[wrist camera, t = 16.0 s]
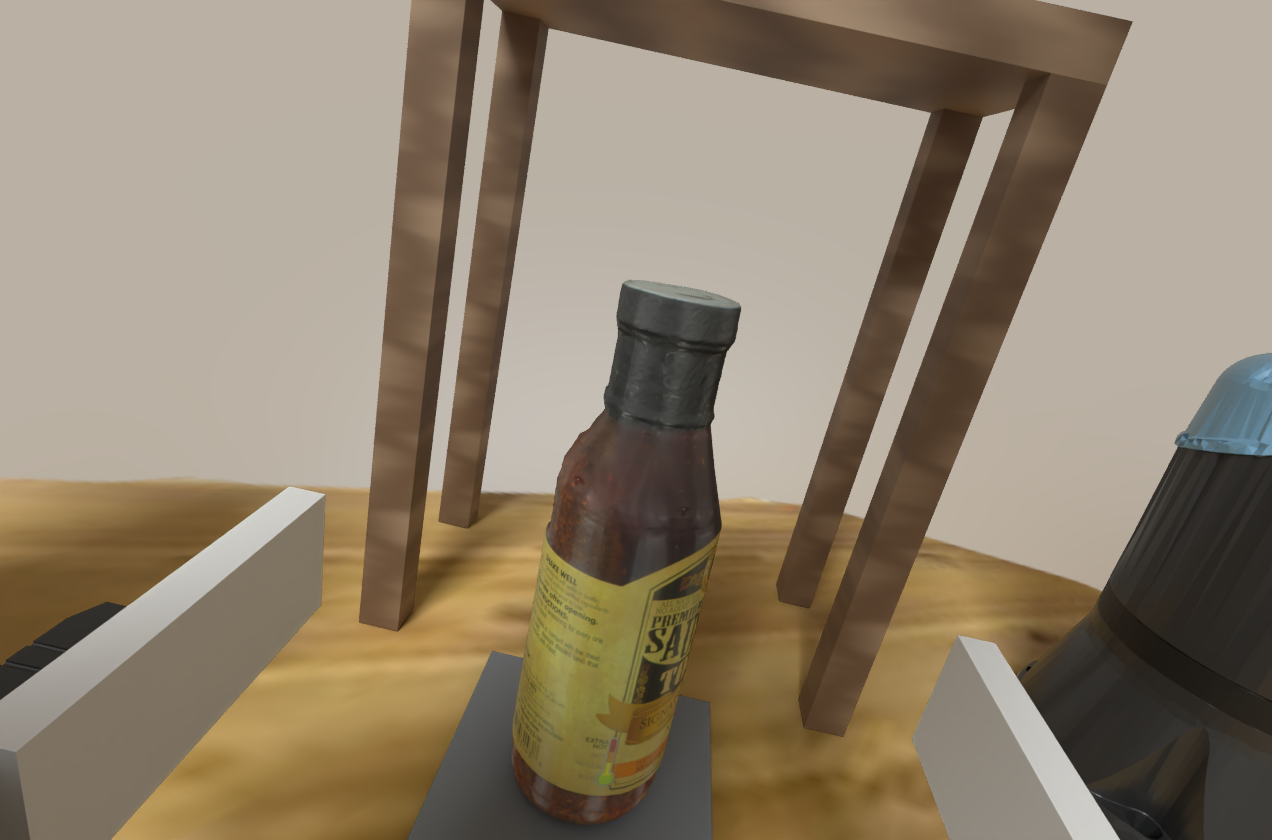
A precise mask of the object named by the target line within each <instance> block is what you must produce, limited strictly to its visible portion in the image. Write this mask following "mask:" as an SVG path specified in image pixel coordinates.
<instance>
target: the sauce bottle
mask: <svg viewBox="0 0 1272 840" xmlns="http://www.w3.org/2000/svg"><path fill="white" fill-rule="evenodd" d="M740 312H741V306H740V304H739V303H737V302H735V301H733V300H731V299H728V298H726V297H723V296H720V295H717V294H714V293H710V292H707V291H703V290H698V289H693V288H688V287H682V286H675V285H670V284H663V283H657V282H650V281H640V280H628V281H625V282H624V283H623V284H622V288H621V292H620V298H619V304H618V310H617V326H618V339H617V343H616V348H615V354H614V360H613V365H612V370H611V375H610V381H609V385H608V386H607V387H606V390H605V393H604V404H605V409H604V411H603V412H602V413H601V414H600V415H599V416H598V417H597V418H596V420H595V421H594V423H593V424H592V425H591V427H590V428H589V429H588V430H586V431H584V432H582V433H580V434H579V436H578V438H577V440H576V441H575V442H574V444H573V446H572V447H571V448H570V449H569V451H568V452H567V454H566V455H565V457H564V461H563V463H562V468H561V471H560V473H559V476H558V478H557V486H556V490H555V497H554V504H553V512H552V516H551V522H549V523H548V526H547V528H546V532H545V537H544V543H543V549H542V555H541V560H540V566H539V572H538V578H537V584H536V589H535V595H534V601H533V607H532V613H531V619H530V624H529V630H528V635H527V641H526V647H525V653H524V658H523V663H522V669H521V675H520V681H519V687H518V693H517V699H516V706H515V712H514V718H513V741H512V742H513V746H512V758H511V762H512V765H513V770H514V774H515V777H516V781H517V783H518V786H519V787H520V789H521V791H522V792H523V793H524V794H525V795H526V796H527V798H528V800H529V801H530V802H531V804H533V805H534V806H536V807H538V808H540V809H541V810H542V811H544V812H545V813H546V814H548V815H552V816H554V817H557V818H559V819H561V820H563V821H569V822H572V823H575V824H580V825H594V824H597V823H598V824H602V823H604V822H609V821H612V820H615V819H617V818H619V817H621V816H623V815H624V814H626V813H627V812H629V811H630V810H631V809H632V808H634V807H635V806H636V805H637V804H638V803H639V802H640V801H641V800H642V799H643V798H644V797H645V796H646V794H647V790H648V788H649V787H650V785H651V784H652V782H653V780H654V778H655V774H656V770H657V769H658V767H659V765H660V763H661V761H662V758H663V755H664V751H665V747H666V743H667V739H668V735H669V731H670V727H671V723H672V719H673V716H674V712H675V708H676V703H677V700H678V696H679V692H680V688H681V684H682V680H683V676H684V673H685V669H686V666H687V661H688V657H689V653H690V649H691V645H692V641H693V638H694V635H695V632H696V626H697V622H698V617H699V614H700V612H701V606H702V603H703V599H704V595H705V591H706V587H707V583H708V579H709V575H710V571H711V568H712V564H713V560H714V556H715V552H716V547H717V543H718V539H719V535H720V531H721V526H722V523H721V515H720V508H719V500H718V492H717V484H716V477H715V469H714V459H713V448H712V436H711V423H712V421H713V419H714V404H715V399H716V394H717V391H718V385H719V381H720V378H721V374H722V369H723V365H724V360H725V357H726V353H727V351H728V350H729V348H730V347H731V345H732V344H733V343H734V342H735V339H736V333H737V329H738V321H739V317H740Z"/></svg>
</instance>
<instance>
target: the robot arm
mask: <svg viewBox="0 0 1272 840" xmlns="http://www.w3.org/2000/svg"><path fill="white" fill-rule="evenodd" d="M1175 444H1176V445H1177V446H1178V448H1177V450H1176V452H1175V454H1174V456H1173V458H1172V460H1171V461H1170V463H1169V465H1168V467H1167V469H1166V471H1165V473H1164V475H1163V477H1162V479H1161V481H1160V483H1159V485H1158V487H1157V489H1156V490H1155V492H1154V494H1153V496H1152V498H1151V500H1150V502H1149V504H1148V506H1147V508H1146V510H1145V512H1144V514H1143V516H1142V518H1141V519H1140V521H1139V524H1138V525H1137V527H1136V529H1135V531H1134V533H1133V535H1132V537H1131V539H1130V540H1129V542H1128V544H1127V546H1126V548H1125V550H1124V551H1123V554H1122V555H1121V557H1120V559H1119V561H1118V563H1117V564H1116V566H1115V568H1114V570H1113V572H1112V574H1111V576H1110V578H1109V580H1108V582H1107V584H1106V586H1105V587H1104V589H1103V591H1102V593H1101V595H1100V597H1099V599H1098V601H1097V603H1096V604H1095V606H1094V608H1093V609H1092V611H1091V612H1090V613H1089V614H1088V615H1087V616H1086V617H1085V618H1084V619H1083V620H1082V621H1080V622H1079V623H1078V624H1077V625H1076V626H1075V627H1074V628H1073V629H1071V630H1070V631H1069V632H1068V633H1067V634H1066V635H1065V636H1064V637H1062V638H1061V639H1060V640H1059V641H1058V642H1057V643H1056V644H1055V645H1054V646H1053V647H1052V648H1051V649H1049V650H1048V651H1047V652H1046V653H1045V654H1044V655H1043V656H1042V657H1041V658H1040V659H1039V660H1037V661H1035V662H1032V663H1030V664H1029V665H1028V666H1026V667H1025V668H1023V669H1022V670H1021V671H1020V672H1018V674H1017V675H1015V674H1014V672H1013V670H1012V669H1011V667H1010V666H1009V664H1008V663H1007V661H1006V659H1005V658H1004V656H1003V655H1002V653H1001V651H1000V650H999V648H998V647H997V645H996V644H995V643H992V642H987V641H983V640H978V639H974V638H969V637H965V636H960V635H957V638H956V640H955V642H954V644H953V647H952V649H951V651H950V653H949V656H948V658H947V660H946V662H945V665H944V667H943V669H942V672H941V674H940V676H939V678H938V681H937V683H936V685H935V687H934V690H933V692H932V694H931V696H930V699H929V701H928V703H927V705H926V708H925V710H924V712H923V714H922V717H921V719H920V721H919V724H918V726H917V728H916V730H915V733H914V735H913V737H912V741H913V743H914V746H915V749H916V751H917V754H918V756H919V759H920V762H921V764H922V767H923V770H924V772H925V775H926V778H927V780H928V783H929V786H930V788H931V791H932V794H933V796H934V799H935V802H936V804H937V807H938V810H939V812H940V815H941V818H942V820H943V823H944V826H945V828H946V831H947V834H948V836H949V839H950V840H1272V353H1267V354H1260V355H1255V356H1251V357H1248V358H1245V359H1243V360H1240V361H1238V362H1236V363H1235V364H1233V365H1231V366H1230V367H1229V368H1227V369H1226V370H1225V371H1224V372H1223V373H1222V374H1221V375H1220V377H1219V378H1218V379H1217V381H1216V383H1215V384H1214V385H1213V387H1212V389H1211V390H1210V392H1209V394H1208V395H1207V397H1206V398H1205V400H1204V402H1203V403H1202V405H1201V407H1200V408H1199V410H1198V411H1197V413H1196V415H1195V416H1194V418H1193V420H1192V421H1191V423H1190V424H1189V426H1188V428H1187V429H1186V431H1183V432H1181V433H1180V434H1179V435H1178V436H1177V438H1176V441H1175ZM325 495H326V494H322V493H317V492H313V491H308V490H304V489H299V488H295V487H290V486H289V487H288V488H286V489H285V490H284V491H282V492H281V493H280V494H278V495H277V496H276V497H274V498H273V499H272V500H270V501H269V502H267V503H266V504H265V505H263V506H262V507H261V508H259V509H258V510H257V511H255V512H254V513H253V514H251V515H250V516H249V517H247V518H246V519H244V520H243V521H242V522H240V523H239V524H238V525H236V526H235V527H234V528H232V529H231V530H230V531H228V532H227V533H226V534H224V535H223V536H222V537H220V538H219V539H217V540H216V541H215V542H213V543H212V544H211V545H209V546H208V547H207V548H205V549H204V550H203V551H201V552H200V553H199V554H197V555H196V556H194V557H193V558H192V559H190V560H189V561H188V562H186V563H185V564H184V565H182V566H181V567H180V568H178V569H177V570H176V571H174V572H173V573H171V574H170V575H169V576H167V577H166V578H165V579H163V580H162V581H161V582H159V583H158V584H157V585H155V586H154V587H153V588H151V589H150V590H149V591H147V592H146V593H144V594H143V595H142V596H140V597H139V598H138V599H136V600H135V601H134V602H132V603H131V604H130V605H128V606H123V605H118V604H114V603H109V602H105V603H103V604H101V605H98V606H96V607H93V608H91V609H88V610H86V611H84V612H81V613H79V614H76V615H74V616H71V617H69V618H67V619H65V620H64V621H62V622H61V623H59V624H58V625H56V626H55V627H54V628H52V629H51V630H49V631H48V632H46V633H45V634H43V635H42V636H40V637H39V638H38V639H36V640H35V641H34V643H33V645H32V646H26V647H24V648H23V649H22V650H20V651H19V652H17V653H16V654H14V655H13V656H11V657H10V658H8V659H7V660H6V663H5V664H4V665H3V666H1V665H0V840H111V839H112V838H113V837H114V835H115V834H116V833H117V832H118V831H119V830H120V829H121V828H122V827H123V825H124V824H125V823H126V822H127V821H128V820H129V819H130V818H131V817H132V815H133V814H134V813H135V812H136V811H137V810H138V809H139V808H140V807H141V805H142V804H143V803H144V802H145V801H146V800H147V799H148V798H149V796H150V795H151V794H152V793H153V792H154V791H155V790H156V789H157V788H158V786H159V785H160V784H161V783H162V782H163V781H164V780H165V779H166V778H167V776H168V775H169V774H170V773H171V772H172V771H173V770H174V769H175V768H176V766H177V765H178V764H179V763H180V762H181V761H182V760H183V759H184V757H185V756H186V755H187V754H188V753H189V752H190V751H191V750H192V749H193V747H194V746H195V745H196V744H197V743H198V742H199V741H200V740H201V739H202V737H203V736H204V735H205V734H206V733H207V732H208V731H209V730H210V729H211V727H212V726H213V725H214V724H215V723H216V722H217V721H218V720H219V719H220V717H221V716H222V715H223V714H224V713H225V712H226V711H227V710H228V708H229V707H230V706H231V705H232V704H233V703H234V702H235V701H236V700H237V698H238V697H239V696H240V695H241V694H242V693H243V692H244V691H245V690H246V688H247V687H248V686H249V685H250V684H251V683H252V682H253V681H254V680H255V678H256V677H257V676H258V675H259V674H260V673H261V672H262V671H263V669H264V668H265V667H266V666H267V665H268V664H269V663H270V662H271V661H272V659H273V658H274V657H275V656H276V655H277V654H278V653H279V652H280V651H281V649H282V648H283V647H284V646H285V645H286V644H287V643H288V642H289V641H290V639H291V638H292V637H293V636H294V635H295V634H296V633H297V632H298V631H299V629H300V628H301V627H302V626H303V625H304V624H305V623H306V622H307V620H308V619H309V618H310V617H311V616H312V615H313V614H314V613H315V612H316V610H317V609H318V608H319V607H320V606H321V597H322V571H323V546H324V520H325Z"/></svg>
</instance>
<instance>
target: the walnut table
mask: <svg viewBox="0 0 1272 840" xmlns="http://www.w3.org/2000/svg"><path fill="white" fill-rule="evenodd" d="M491 1H492V2H493V3H494V4H495V5H497V6H498V7H499V8H500V9H501V10H502V18H501V26H500V33H499V41H498V50H497V57H496V65H495V74H494V81H493V89H492V97H491V106H490V114H489V121H488V129H487V137H486V146H485V153H484V162H483V169H482V177H481V186H480V193H479V201H478V202H479V203H478V210H477V217H476V226H475V233H474V241H473V249H472V257H471V265H470V274H469V281H468V289H467V297H466V305H465V313H464V321H463V329H462V337H461V345H460V353H459V361H458V369H457V377H456V386H455V393H454V401H453V409H452V418H451V425H450V434H449V441H448V449H447V458H446V466H445V473H444V481H443V489H442V497H441V505H440V513H439V522H443V523H447V524H452V525H456V526H460V527H464V528H468V527H469V526H470V525H471V523H472V522H473V520H474V519H475V517H476V516H477V514H478V507H479V500H480V493H481V486H482V479H483V473H484V466H485V459H486V452H487V445H488V438H489V432H490V425H491V418H492V411H493V404H494V398H495V391H496V384H497V377H498V370H499V363H500V356H501V350H502V342H503V336H504V329H505V322H506V315H507V308H508V301H509V295H510V288H511V281H512V275H513V267H514V261H515V254H516V247H517V240H518V234H519V227H520V220H521V213H522V206H523V199H524V192H525V186H526V179H527V172H528V165H529V159H530V151H531V145H532V138H533V131H534V124H535V118H536V111H537V104H538V97H539V90H540V83H541V77H542V69H543V63H544V56H545V49H546V42H547V36H548V29H549V28H550V29H555V30H560V31H564V32H569V33H573V34H577V35H582V36H587V37H591V38H596V39H600V40H605V41H609V42H614V43H618V44H623V45H627V46H632V47H636V48H641V49H645V50H650V51H654V52H659V53H664V54H668V55H672V56H677V57H682V58H686V59H690V60H695V61H700V62H704V63H709V64H713V65H718V66H722V67H727V68H732V69H736V70H740V71H745V72H749V73H754V74H759V75H763V76H767V77H772V78H776V79H781V80H785V81H790V82H794V83H799V84H804V85H808V86H813V87H817V88H822V89H826V90H831V91H836V92H840V93H844V94H849V95H853V96H858V97H862V98H867V99H871V100H876V101H881V102H885V103H889V104H894V105H898V106H903V107H907V108H912V109H916V110H921V111H926V112H930V113H931V115H930V118H929V121H928V124H927V127H926V130H925V133H924V136H923V140H922V143H921V146H920V149H919V152H918V155H917V158H916V161H915V164H914V167H913V170H912V173H911V176H910V179H909V182H908V185H907V188H906V191H905V194H904V197H903V200H902V203H901V206H900V210H899V212H898V216H897V218H896V221H895V225H894V228H893V231H892V234H891V237H890V240H889V243H888V246H887V249H886V252H885V255H884V258H883V261H882V264H881V267H880V270H879V273H878V276H877V279H876V282H875V285H874V289H873V292H872V294H871V298H870V301H869V304H868V307H867V310H866V313H865V316H864V319H863V322H862V325H861V328H860V331H859V334H858V337H857V340H856V343H855V346H854V349H853V352H852V355H851V358H850V361H849V364H848V367H847V371H846V374H845V377H844V380H843V383H842V386H841V389H840V392H839V395H838V398H837V401H836V404H835V407H834V410H833V413H832V416H831V420H830V422H829V426H828V428H827V431H826V434H825V437H824V441H823V444H822V447H821V450H820V453H819V456H818V459H817V462H816V465H815V468H814V471H813V474H812V477H811V480H810V483H809V487H808V489H807V492H806V495H805V498H804V501H803V504H802V507H801V510H800V514H799V517H798V520H797V523H796V526H795V529H794V532H793V535H792V538H791V541H790V544H789V547H788V550H787V553H786V556H785V559H784V562H783V565H782V568H781V571H780V574H779V577H778V580H777V583H776V586H777V591H778V596H779V601H781V602H786V603H790V604H794V605H798V606H803V607H807V608H810V605H811V602H812V599H813V597H814V594H815V591H816V588H817V585H818V582H819V580H820V577H821V574H822V571H823V568H824V565H825V563H826V560H827V557H828V554H829V551H830V548H831V546H832V543H833V540H834V537H835V534H836V531H837V529H838V526H839V523H840V520H841V517H842V515H843V512H844V509H845V506H846V503H847V500H848V498H849V495H850V492H851V489H852V486H853V483H854V481H855V478H856V475H857V472H858V469H859V466H860V464H861V461H862V458H863V455H864V452H865V449H866V447H867V443H868V441H869V438H870V435H871V432H872V429H873V427H874V424H875V421H876V418H877V415H878V413H879V410H880V407H881V404H882V401H883V398H884V396H885V393H886V390H887V387H888V384H889V381H890V378H891V376H892V373H893V370H894V367H895V364H896V362H897V359H898V356H899V353H900V350H901V347H902V344H903V342H904V339H905V336H906V333H907V330H908V327H909V325H910V322H911V319H912V316H913V314H914V311H915V308H916V305H917V302H918V299H919V297H920V294H921V291H922V288H923V285H924V282H925V279H926V277H927V274H928V271H929V268H930V265H931V263H932V260H933V257H934V254H935V251H936V248H937V246H938V243H939V240H940V237H941V234H942V231H943V229H944V226H945V223H946V220H947V217H948V214H949V212H950V209H951V206H952V203H953V200H954V197H955V195H956V192H957V189H958V186H959V183H960V180H961V178H962V175H963V172H964V169H965V166H966V163H967V161H968V158H969V155H970V152H971V149H972V147H973V144H974V141H975V138H976V135H977V132H978V129H979V127H980V124H981V121H982V118H983V117H985V116H989V115H993V114H997V113H1001V112H1004V111H1008V110H1012V109H1015V110H1014V113H1013V116H1012V119H1011V121H1010V124H1009V127H1008V129H1007V132H1006V135H1005V138H1004V140H1003V143H1002V146H1001V148H1000V151H999V154H998V157H997V160H996V162H995V165H994V168H993V170H992V173H991V176H990V178H989V181H988V184H987V187H986V189H985V192H984V195H983V198H982V200H981V203H980V206H979V209H978V211H977V214H976V217H975V219H974V222H973V225H972V228H971V230H970V233H969V236H968V239H967V241H966V244H965V247H964V249H963V252H962V255H961V257H960V260H959V263H958V266H957V268H956V271H955V274H954V277H953V279H952V282H951V285H950V288H949V290H948V293H947V296H946V298H945V301H944V304H943V307H942V309H941V312H940V315H939V317H938V320H937V323H936V326H935V328H934V331H933V334H932V337H931V339H930V342H929V345H928V347H927V350H926V353H925V356H924V358H923V361H922V364H921V367H920V369H919V372H918V375H917V377H916V380H915V383H914V386H913V389H912V391H911V394H910V397H909V399H908V402H907V405H906V407H905V410H904V413H903V416H902V418H901V421H900V424H899V427H898V429H897V432H896V435H895V437H894V440H893V443H892V446H891V448H890V451H889V454H888V457H887V459H886V462H885V465H884V467H883V470H882V473H881V476H880V478H879V481H878V484H877V487H876V489H875V492H874V495H873V497H872V500H871V503H870V506H869V509H868V511H867V514H866V517H865V519H864V522H863V525H862V527H861V530H860V533H859V536H858V538H857V541H856V544H855V547H854V549H853V552H852V555H851V557H850V560H849V563H848V566H847V568H846V571H845V574H844V577H843V579H842V582H841V585H840V587H839V590H838V593H837V596H836V598H835V601H834V604H833V606H832V609H831V612H830V615H829V617H828V620H827V623H826V626H825V628H824V631H823V634H822V636H821V639H820V642H819V645H818V647H817V650H816V653H815V656H814V658H813V661H812V664H811V666H810V669H809V672H808V675H807V677H806V680H805V683H804V686H803V688H802V691H801V694H800V696H799V704H800V709H801V714H802V719H803V725H804V728H808V729H812V730H817V731H821V732H825V733H829V734H834V735H838V736H842V737H843V736H844V734H845V731H846V729H847V726H848V724H849V721H850V719H851V716H852V714H853V711H854V709H855V706H856V704H857V702H858V699H859V697H860V694H861V692H862V689H863V687H864V684H865V682H866V679H867V677H868V674H869V672H870V669H871V667H872V664H873V662H874V660H875V657H876V655H877V652H878V650H879V647H880V645H881V642H882V640H883V637H884V635H885V632H886V630H887V627H888V625H889V622H890V620H891V618H892V615H893V613H894V610H895V608H896V605H897V603H898V600H899V598H900V595H901V593H902V590H903V588H904V585H905V583H906V580H907V578H908V576H909V573H910V571H911V568H912V566H913V563H914V561H915V558H916V556H917V553H918V551H919V548H920V546H921V543H922V541H923V538H924V536H925V533H926V531H927V529H928V526H929V524H930V521H931V519H932V516H933V514H934V511H935V509H936V506H937V503H938V501H939V499H940V496H941V494H942V491H943V489H944V487H945V484H946V481H947V479H948V477H949V474H950V472H951V469H952V467H953V464H954V462H955V459H956V457H957V454H958V452H959V449H960V447H961V445H962V442H963V439H964V437H965V435H966V432H967V430H968V427H969V425H970V422H971V420H972V417H973V415H974V412H975V410H976V407H977V405H978V402H979V400H980V398H981V395H982V393H983V390H984V388H985V385H986V383H987V380H988V378H989V375H990V373H991V370H992V368H993V365H994V363H995V360H996V358H997V356H998V353H999V350H1000V348H1001V346H1002V343H1003V341H1004V338H1005V336H1006V333H1007V331H1008V328H1009V326H1010V323H1011V321H1012V318H1013V316H1014V314H1015V311H1016V309H1017V306H1018V304H1019V301H1020V299H1021V296H1022V294H1023V291H1024V289H1025V286H1026V284H1027V281H1028V279H1029V276H1030V274H1031V272H1032V269H1033V266H1034V264H1035V262H1036V259H1037V257H1038V254H1039V252H1040V249H1041V247H1042V244H1043V242H1044V239H1045V237H1046V234H1047V232H1048V230H1049V227H1050V225H1051V222H1052V219H1053V217H1054V215H1055V212H1056V210H1057V207H1058V205H1059V202H1060V200H1061V197H1062V195H1063V192H1064V190H1065V187H1066V185H1067V183H1068V180H1069V178H1070V175H1071V172H1072V170H1073V168H1074V165H1075V163H1076V160H1077V158H1078V155H1079V153H1080V150H1081V148H1082V145H1083V143H1084V141H1085V138H1086V135H1087V133H1088V131H1089V128H1090V126H1091V123H1092V121H1093V118H1094V116H1095V113H1096V111H1097V108H1098V106H1099V103H1100V101H1101V99H1102V96H1103V94H1104V91H1105V89H1106V86H1107V84H1108V81H1109V79H1110V76H1111V74H1112V71H1113V69H1114V66H1115V64H1116V61H1117V59H1118V57H1119V54H1120V51H1121V49H1122V47H1123V44H1124V42H1125V39H1126V37H1127V34H1128V32H1129V29H1130V27H1131V24H1132V21H1128V20H1124V19H1119V18H1114V17H1110V16H1105V15H1100V14H1096V13H1091V12H1087V11H1082V10H1078V9H1073V8H1069V7H1064V6H1059V5H1055V4H1050V3H1045V2H1041V1H1036V0H491ZM483 3H484V0H412V2H411V13H410V25H409V37H408V48H407V60H406V61H407V62H406V73H405V84H404V96H403V108H402V120H401V132H400V143H399V155H398V167H397V179H396V190H395V202H394V215H393V226H392V238H391V249H390V261H389V273H388V286H387V297H386V309H385V320H384V333H383V344H382V356H381V368H380V381H379V392H378V404H377V415H376V427H375V439H374V451H373V462H372V474H371V486H370V498H369V510H368V522H367V533H366V545H365V557H364V569H363V581H362V593H361V604H360V616H359V622H360V623H364V624H368V625H373V626H377V627H381V628H385V629H389V630H394V631H398V630H399V628H400V627H401V625H402V624H403V622H404V621H405V619H406V618H407V616H408V615H409V614H410V612H411V611H412V609H413V605H414V597H415V588H416V580H417V571H418V562H419V554H420V545H421V537H422V528H423V519H424V511H425V502H426V494H427V484H428V476H429V467H430V458H431V451H432V442H433V433H434V425H435V416H436V407H437V399H438V390H439V382H440V373H441V364H442V356H443V347H444V339H445V330H446V321H447V313H448V304H449V296H450V287H451V279H452V269H453V261H454V252H455V244H456V236H457V227H458V218H459V210H460V201H461V193H462V184H463V175H464V166H465V158H466V149H467V140H468V131H469V123H470V115H471V107H472V96H473V89H474V81H475V72H476V63H477V55H478V46H479V37H480V29H481V21H482V12H483Z"/></svg>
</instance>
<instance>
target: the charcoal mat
mask: <svg viewBox="0 0 1272 840" xmlns="http://www.w3.org/2000/svg"><path fill="white" fill-rule="evenodd" d="M522 663H523V658H520V657H516V656H512V655H507V654H503V653H499V652H495V651H492V652H491V655H490V657H489V659H488V661H487V663H486V666H485V668H484V670H483V672H482V675H481V677H480V679H479V681H478V683H477V686H476V688H475V690H474V692H473V695H472V697H471V699H470V701H469V703H468V706H467V708H466V710H465V712H464V715H463V717H462V719H461V721H460V723H459V726H458V728H457V730H456V732H455V735H454V737H453V739H452V741H451V743H450V746H449V748H448V750H447V752H446V755H445V757H444V759H443V761H442V763H441V766H440V768H439V770H438V772H437V775H436V777H435V779H434V781H433V783H432V786H431V788H430V790H429V792H428V795H427V797H426V799H425V801H424V803H423V806H422V808H421V810H420V812H419V814H418V817H417V819H416V821H415V823H414V826H413V828H412V830H411V832H410V834H409V837H408V839H407V840H712V803H711V751H710V702H706V701H702V700H698V699H694V698H689V697H685V696H681V695H679V696H678V700H677V703H676V708H675V712H674V716H673V719H672V723H671V727H670V731H669V735H668V739H667V743H666V747H665V751H664V755H663V758H662V761H661V763H660V765H659V767H658V769H657V770H656V774H655V778H654V780H653V782H652V784H651V785H650V787H649V788H648V790H647V794H646V796H645V797H644V798H643V799H642V800H641V801H640V802H639V803H638V804H637V805H636V806H635V807H634V808H632V809H631V810H630V811H629V812H627V813H626V814H624V815H623V816H621V817H619V818H617V819H615V820H612V821H609V822H604V823H602V824H598V823H597V824H594V825H580V824H575V823H572V822H569V821H563V820H561V819H559V818H557V817H554V816H552V815H548V814H546V813H545V812H544V811H542V810H541V809H540V808H538V807H536V806H534V805H533V804H531V802H530V801H529V800H528V798H527V796H526V795H525V794H524V793H523V792H522V791H521V789H520V787H519V786H518V783H517V781H516V777H515V774H514V770H513V765H512V762H511V758H512V746H513V742H512V741H513V718H514V712H515V706H516V699H517V693H518V687H519V681H520V675H521V669H522Z"/></svg>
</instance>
